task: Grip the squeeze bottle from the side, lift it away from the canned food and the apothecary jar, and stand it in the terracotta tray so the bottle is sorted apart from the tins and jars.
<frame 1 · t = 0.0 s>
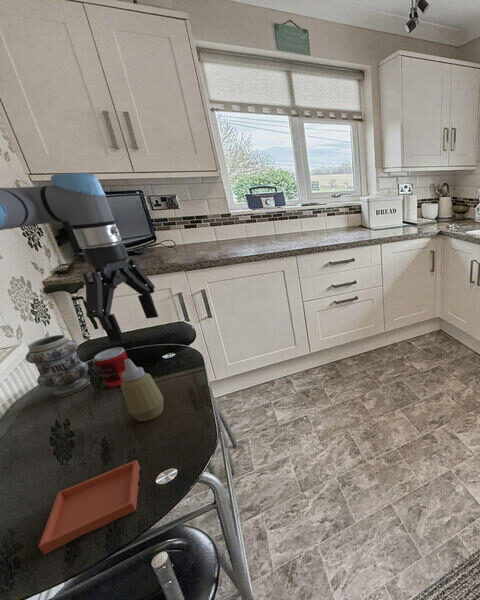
hand: (136, 328, 83), 27 cm above the table, tool pointing down, fingers open, 13 cm apart
apothecary jar: (71, 388, 109), on the table
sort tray: (98, 505, 66), on the table
canned food: (122, 381, 110), on the table
squeeze bottle: (151, 415, 92), on the table
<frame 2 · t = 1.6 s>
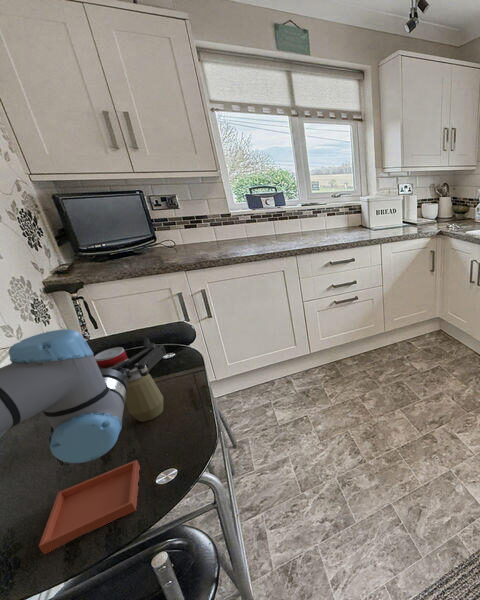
hand: (113, 352, 76), 24 cm above the table, tool horizontal, fingers open, 13 cm apart
nothing on the table moved.
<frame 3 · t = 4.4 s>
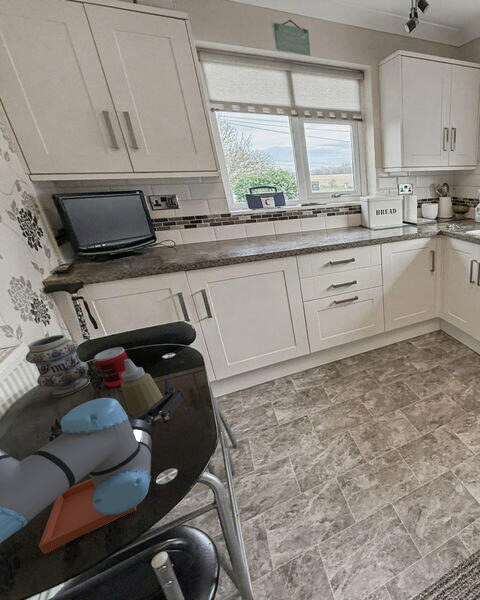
hand: (137, 395, 84), 10 cm above the table, tool horizontal, fingers open, 13 cm apart
nothing on the table moved.
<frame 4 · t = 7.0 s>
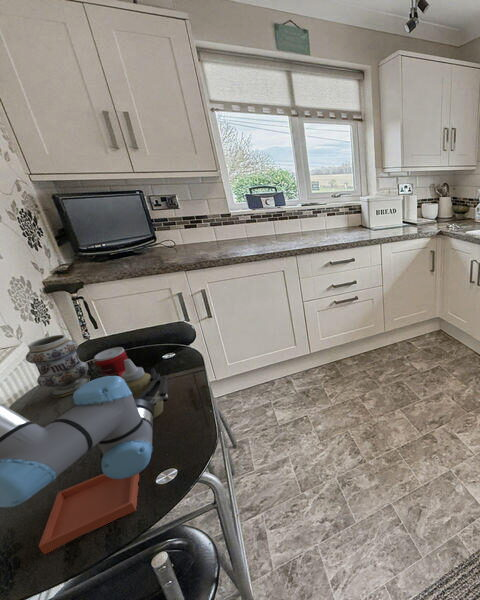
hand: (139, 377, 93), 10 cm above the table, tool horizontal, fingers closed on squeeze bottle, 6 cm apart
squeeze bottle: (151, 415, 92), on the table, touching gripper
everything else where it was.
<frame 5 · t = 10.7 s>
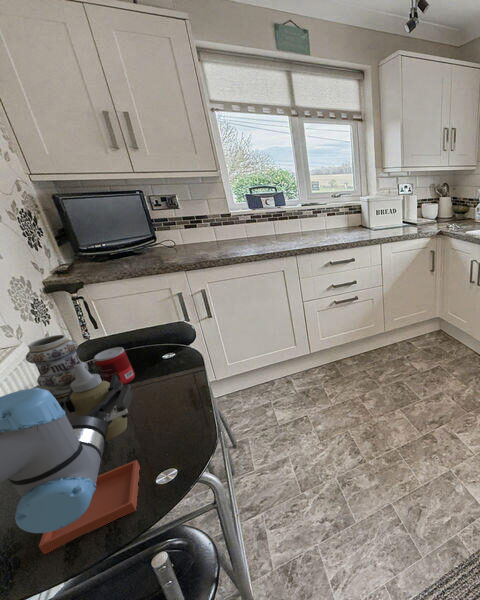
hand: (96, 386, 75), 18 cm above the table, tool horizontal, fingers closed on squeeze bottle, 6 cm apart
squeeze bottle: (111, 433, 74), point 8 cm above the table, touching gripper
everything else where it was.
when the fingers open (11 cm above the table, at t = 14.6 s): squeeze bottle stays where it is, resting on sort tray.
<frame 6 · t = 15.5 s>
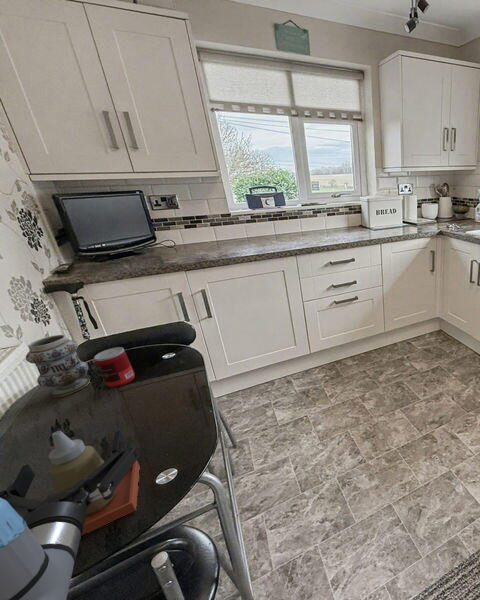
hand: (77, 452, 64), 12 cm above the table, tool horizontal, fingers open, 13 cm apart
squeeze bottle: (97, 503, 66), point 1 cm above the table, touching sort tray
everything else where it was.
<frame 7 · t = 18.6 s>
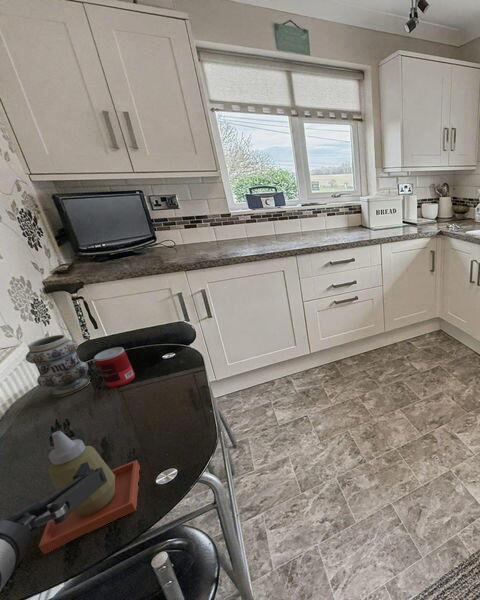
hand: (32, 494, 53), 14 cm above the table, tool tilted 70°, fingers open, 13 cm apart
nothing on the table moved.
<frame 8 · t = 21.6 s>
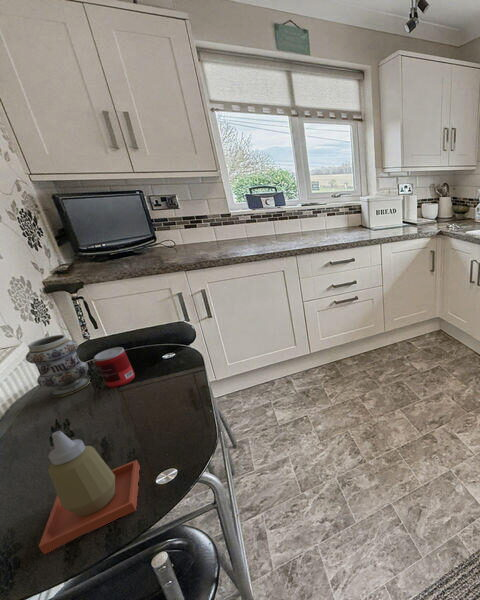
nothing on the table moved.
at the end: squeeze bottle inside the target area in the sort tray (0.1 cm from its centre), point 0.6 cm above the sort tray's base; squeeze bottle tilted 0°; the gripper is holding nothing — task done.
